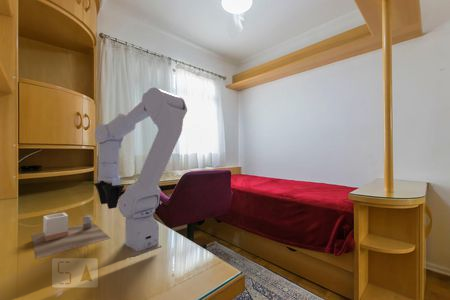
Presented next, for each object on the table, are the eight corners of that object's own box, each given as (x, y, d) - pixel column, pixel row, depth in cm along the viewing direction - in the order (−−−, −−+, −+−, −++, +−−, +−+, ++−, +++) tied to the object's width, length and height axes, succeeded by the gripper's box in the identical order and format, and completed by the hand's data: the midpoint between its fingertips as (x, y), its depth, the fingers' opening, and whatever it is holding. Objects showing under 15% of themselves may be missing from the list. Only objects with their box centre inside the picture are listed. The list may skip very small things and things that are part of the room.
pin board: (110, 242, 59) (111, 224, 59) (35, 263, 47) (36, 241, 47) (92, 225, 72) (93, 211, 73) (31, 238, 61) (31, 221, 61)
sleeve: (68, 235, 61) (68, 215, 61) (45, 240, 57) (46, 219, 57) (64, 231, 64) (64, 212, 64) (42, 236, 60) (43, 216, 60)
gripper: (130, 163, 62) (130, 207, 61) (114, 162, 72) (114, 200, 72) (105, 164, 57) (104, 212, 56) (91, 162, 67) (91, 203, 66)
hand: (108, 205), depth 64 cm, fingers open, 7 cm apart
